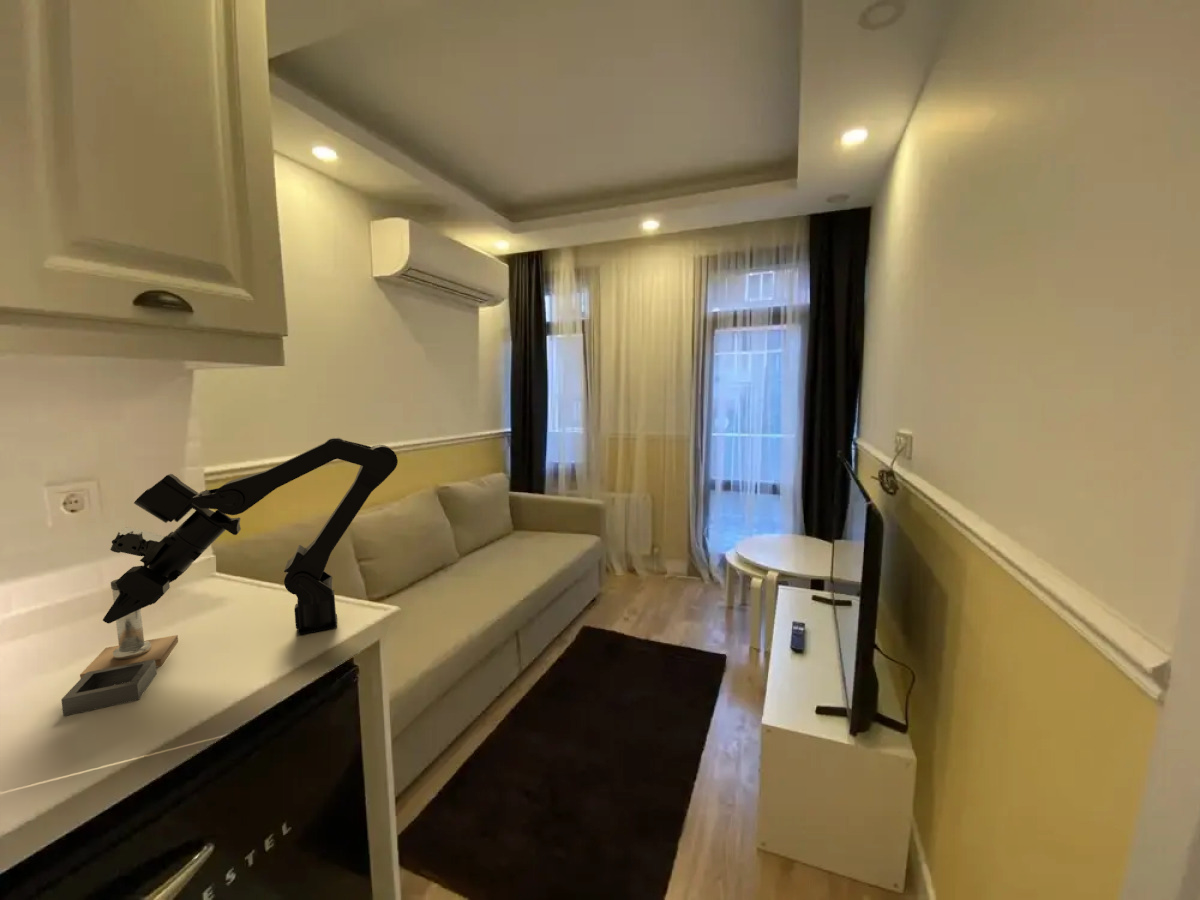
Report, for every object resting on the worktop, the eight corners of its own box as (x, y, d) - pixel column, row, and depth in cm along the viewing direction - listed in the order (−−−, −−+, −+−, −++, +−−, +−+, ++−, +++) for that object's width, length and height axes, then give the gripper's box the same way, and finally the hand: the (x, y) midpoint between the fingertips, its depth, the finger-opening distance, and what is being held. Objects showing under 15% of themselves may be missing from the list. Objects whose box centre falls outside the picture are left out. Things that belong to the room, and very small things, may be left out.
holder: (156, 673, 83) (155, 659, 82) (138, 699, 75) (137, 683, 75) (88, 687, 79) (87, 672, 79) (63, 716, 72) (61, 699, 71)
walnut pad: (178, 641, 94) (177, 634, 94) (161, 665, 85) (160, 659, 85) (106, 654, 89) (105, 647, 89) (80, 681, 81) (80, 674, 81)
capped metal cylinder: (158, 645, 90) (150, 574, 88) (135, 659, 85) (126, 584, 84) (130, 647, 89) (122, 575, 88) (105, 660, 85) (96, 585, 83)
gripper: (163, 501, 95) (91, 568, 91) (126, 522, 78) (36, 605, 74) (219, 536, 99) (152, 602, 95) (195, 563, 83) (113, 643, 79)
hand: (116, 611), depth 86 cm, fingers open, 9 cm apart
